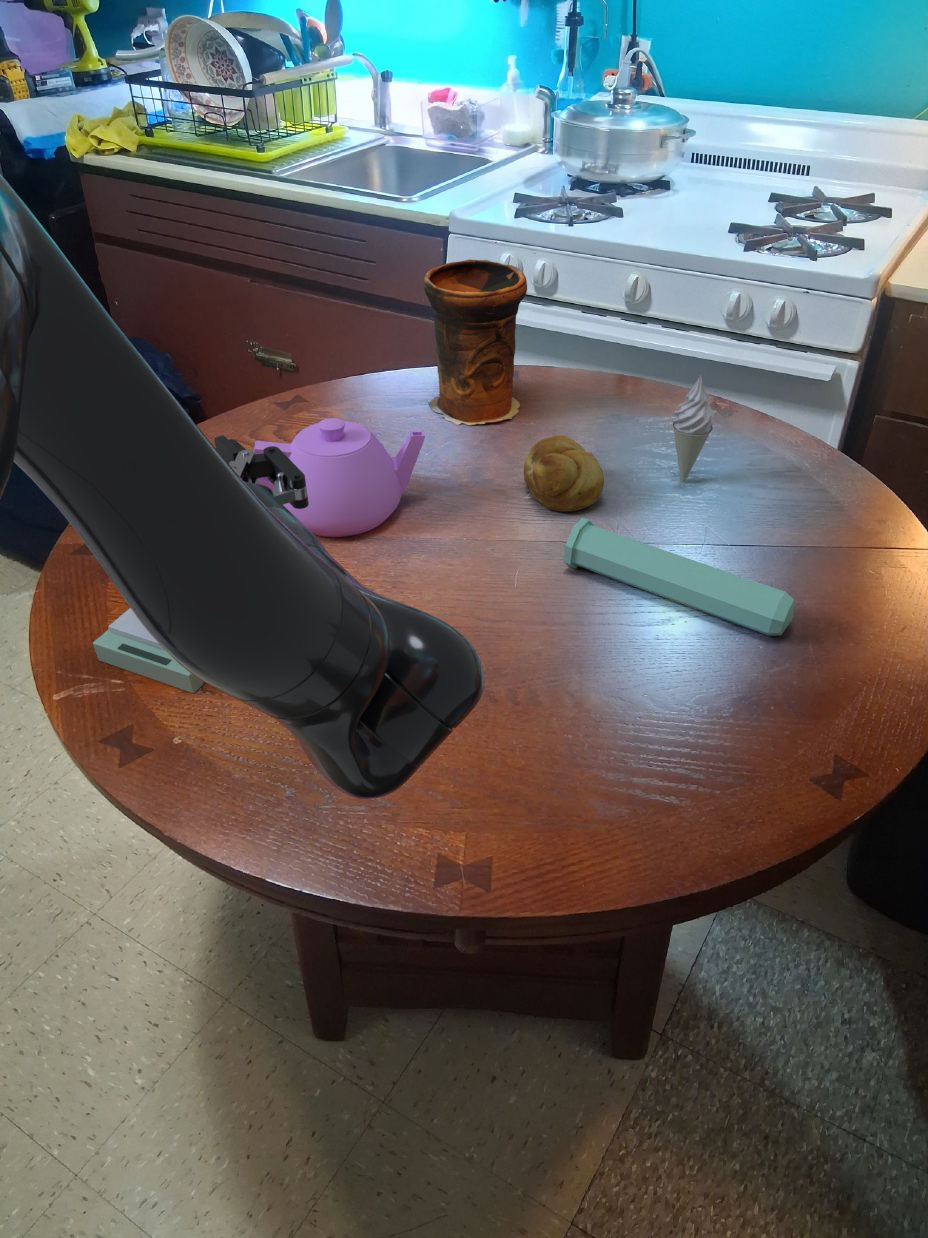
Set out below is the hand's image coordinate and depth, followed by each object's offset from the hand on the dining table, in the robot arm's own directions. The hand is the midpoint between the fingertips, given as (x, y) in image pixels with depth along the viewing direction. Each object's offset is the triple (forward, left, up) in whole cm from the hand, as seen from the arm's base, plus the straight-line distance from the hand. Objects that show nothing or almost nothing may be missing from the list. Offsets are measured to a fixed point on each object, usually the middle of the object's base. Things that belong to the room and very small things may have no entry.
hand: (168, 462), depth 68 cm
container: (+34, -35, -26) cm, 55 cm away
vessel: (+68, +4, -26) cm, 73 cm away
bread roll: (+50, -16, -26) cm, 58 cm away
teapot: (+35, +8, -26) cm, 44 cm away
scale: (+6, +10, -26) cm, 28 cm away
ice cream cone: (+59, -30, -26) cm, 71 cm away
